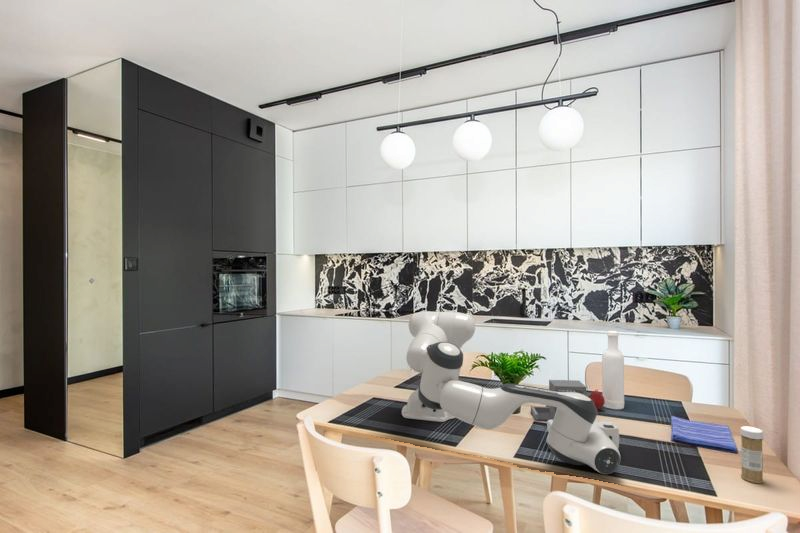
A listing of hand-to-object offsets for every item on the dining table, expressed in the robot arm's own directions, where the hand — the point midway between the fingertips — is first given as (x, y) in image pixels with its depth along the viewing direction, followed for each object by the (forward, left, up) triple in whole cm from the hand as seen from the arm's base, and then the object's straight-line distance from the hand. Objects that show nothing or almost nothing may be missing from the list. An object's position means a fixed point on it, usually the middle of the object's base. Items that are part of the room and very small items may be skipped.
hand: (574, 420), depth 140 cm
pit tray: (0, +18, -6) cm, 19 cm away
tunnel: (0, +9, -6) cm, 11 cm away
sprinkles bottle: (+38, -24, -6) cm, 45 cm away
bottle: (+24, +33, -6) cm, 41 cm away
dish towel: (+42, +6, -6) cm, 43 cm away
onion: (+16, +28, -6) cm, 33 cm away
